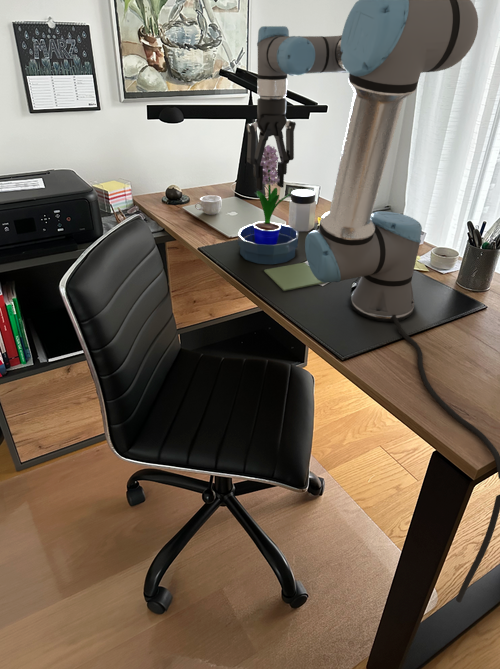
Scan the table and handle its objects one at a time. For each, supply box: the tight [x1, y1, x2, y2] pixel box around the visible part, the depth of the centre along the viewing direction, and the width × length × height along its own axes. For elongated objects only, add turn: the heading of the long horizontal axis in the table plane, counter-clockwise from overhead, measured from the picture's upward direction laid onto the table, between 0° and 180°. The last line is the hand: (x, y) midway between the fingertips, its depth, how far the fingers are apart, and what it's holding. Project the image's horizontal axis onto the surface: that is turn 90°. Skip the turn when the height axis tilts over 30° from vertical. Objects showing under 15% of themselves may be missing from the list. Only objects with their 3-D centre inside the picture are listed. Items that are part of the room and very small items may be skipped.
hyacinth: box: [253, 144, 291, 245], centre depth 137 cm, size 9×10×30 cm
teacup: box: [194, 194, 222, 216], centre depth 174 cm, size 10×8×5 cm
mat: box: [263, 262, 325, 292], centre depth 132 cm, size 13×13×1 cm
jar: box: [287, 188, 317, 232], centre depth 161 cm, size 9×8×12 cm
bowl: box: [237, 222, 300, 265], centre depth 144 cm, size 18×18×6 cm
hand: (269, 187), depth 135 cm, fingers closed on hyacinth, 6 cm apart
